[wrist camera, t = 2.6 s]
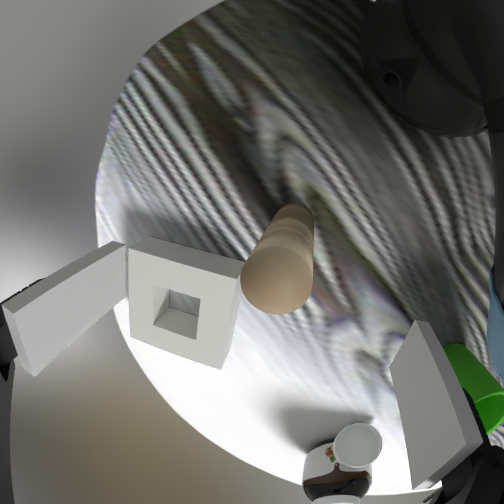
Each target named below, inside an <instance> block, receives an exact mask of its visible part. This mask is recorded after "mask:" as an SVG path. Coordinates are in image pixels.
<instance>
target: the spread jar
mask: <svg viewBox="0 0 504 504" xmlns="http://www.w3.org/2000/svg"><path fill="white" fill-rule="evenodd" d="M381 449H382V438H381V436H380V434H379V432H378V431H377V430H376V429H375V428H374V427H373V426H371V425H369V424H366V423H354V424H351V425H348V426H346V427H345V428H344V429H342V430H341V432H340V433H339V434H338V435H337V436H336V438H333V439H329V440H326V441H324V442H322V443H320V444H318V445H317V446H315V447H314V448H313V449H311V450H310V452H309V453H308V454H307V456H306V459H305V464H304V470H303V479H302V483H303V489H304V492H305V494H306V495H307V497H308V498H309V499H310V500H311V501H312V504H361V498H362V497H363V496H364V495H365V494H366V493H367V492H368V490H369V488H370V486H371V483H372V462H373V461H374V460H375V459H376V458H377V457H378V456H379V454H380V452H381Z"/></svg>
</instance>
